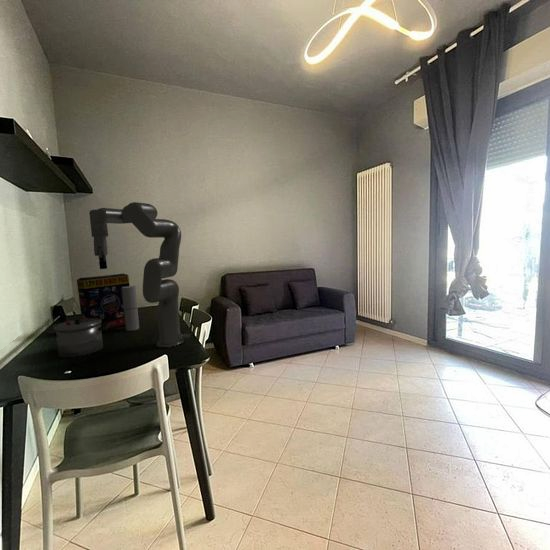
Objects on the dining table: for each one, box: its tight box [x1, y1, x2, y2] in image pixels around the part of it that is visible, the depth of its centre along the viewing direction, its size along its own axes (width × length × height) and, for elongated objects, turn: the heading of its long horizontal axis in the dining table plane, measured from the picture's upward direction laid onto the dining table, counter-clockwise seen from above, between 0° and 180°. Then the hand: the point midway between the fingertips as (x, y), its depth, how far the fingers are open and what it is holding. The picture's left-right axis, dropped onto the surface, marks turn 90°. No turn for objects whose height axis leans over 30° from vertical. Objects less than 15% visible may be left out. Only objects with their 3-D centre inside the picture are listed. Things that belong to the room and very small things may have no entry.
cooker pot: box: [46, 324, 109, 359], centre depth 146 cm, size 24×20×12 cm
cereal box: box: [76, 273, 131, 332], centre depth 186 cm, size 27×11×32 cm, turn 142°
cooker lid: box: [53, 317, 102, 331], centre depth 145 cm, size 19×19×3 cm
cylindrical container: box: [122, 285, 140, 332], centre depth 180 cm, size 7×7×25 cm
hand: (103, 268), depth 162 cm, fingers closed
